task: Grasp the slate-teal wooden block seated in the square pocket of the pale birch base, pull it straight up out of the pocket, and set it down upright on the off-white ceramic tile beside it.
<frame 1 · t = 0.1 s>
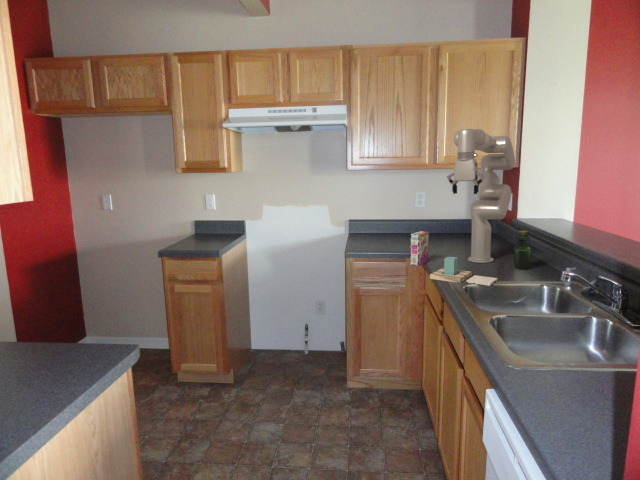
hand: (465, 193, 205), 37 cm above the worktop, tool pointing down, fingers open, 9 cm apart
candy bar box: (419, 264, 228), on the worktop
pocket base: (450, 277, 199), on the worktop
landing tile: (482, 281, 191), on the worktop
potion bottle: (521, 268, 211), on the worktop
teal block: (450, 267, 199), in the pocket base
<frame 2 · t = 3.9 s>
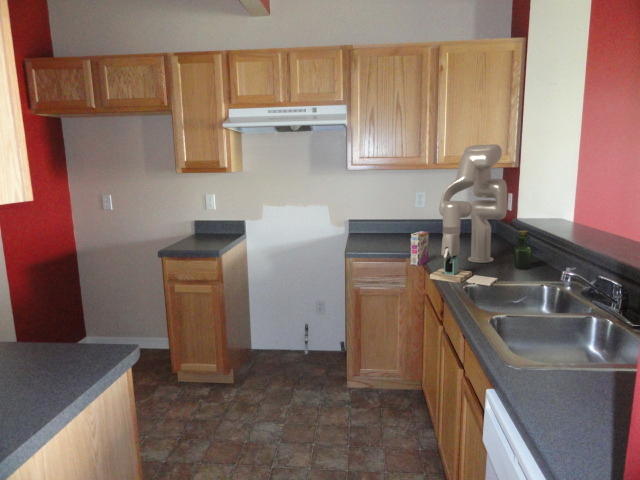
hand: (450, 270, 199), 3 cm above the worktop, tool pointing down, fingers closed on teal block, 4 cm apart
teal block: (450, 267, 199), in the pocket base, touching gripper
everything else where it was.
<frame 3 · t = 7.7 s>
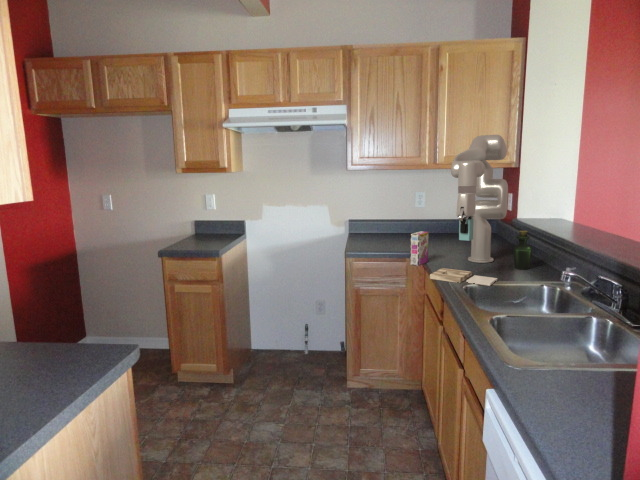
hand: (466, 231, 192), 21 cm above the worktop, tool pointing down, fingers closed on teal block, 4 cm apart
teal block: (466, 229, 192), point 22 cm above the worktop, touching gripper
everything else where it was.
when the fingers open (5 cm above the worktop, at t = 11.6 s): teal block stays where it is, resting on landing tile.
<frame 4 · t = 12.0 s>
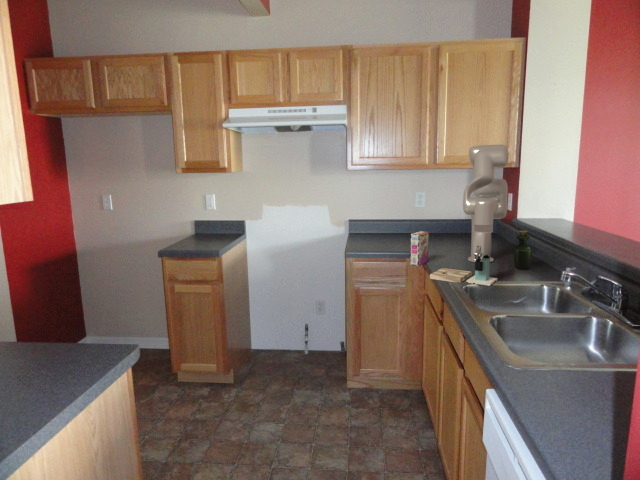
hand: (482, 268, 190), 6 cm above the worktop, tool pointing down, fingers open, 8 cm apart
teal block: (482, 269, 190), on the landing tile, point 6 cm above the worktop
everything else where it was.
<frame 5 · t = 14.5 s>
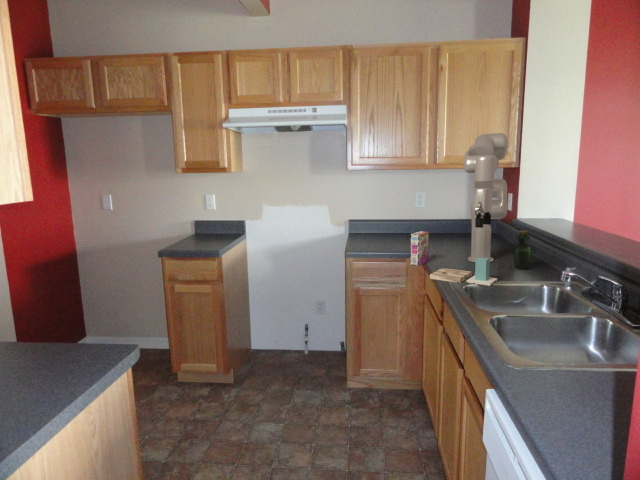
hand: (483, 225, 187), 24 cm above the worktop, tool pointing down, fingers open, 9 cm apart
nothing on the worktop moved.
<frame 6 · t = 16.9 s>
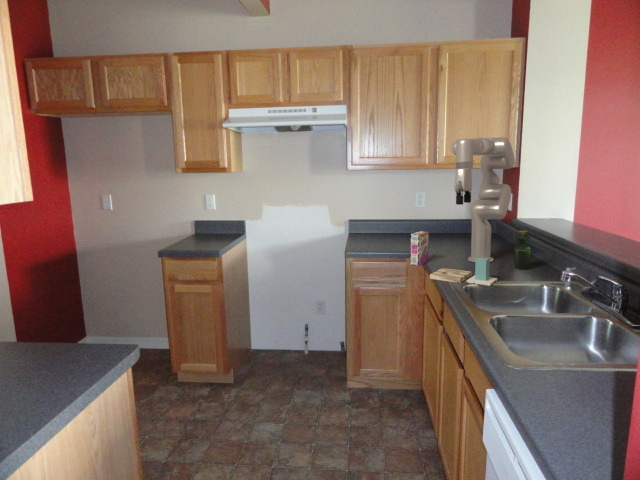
hand: (463, 203, 205), 32 cm above the worktop, tool pointing down, fingers open, 9 cm apart
nothing on the worktop moved.
at the end: teal block 0.1 cm off-centre on the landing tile, point 5.5 cm above the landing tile's base; teal block tilted 0°; the gripper is holding nothing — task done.
